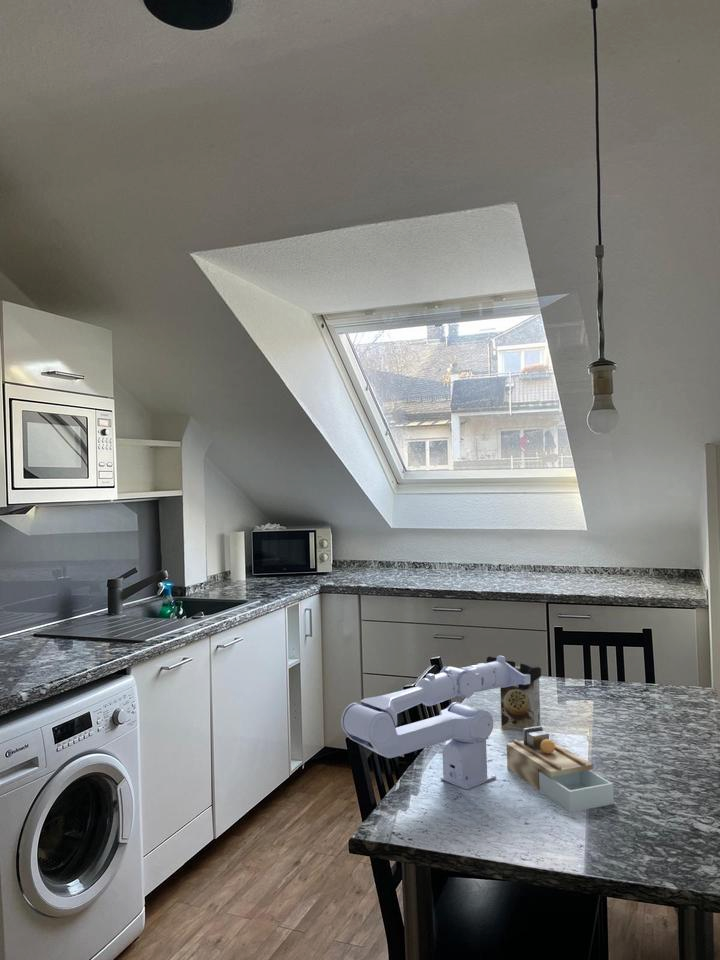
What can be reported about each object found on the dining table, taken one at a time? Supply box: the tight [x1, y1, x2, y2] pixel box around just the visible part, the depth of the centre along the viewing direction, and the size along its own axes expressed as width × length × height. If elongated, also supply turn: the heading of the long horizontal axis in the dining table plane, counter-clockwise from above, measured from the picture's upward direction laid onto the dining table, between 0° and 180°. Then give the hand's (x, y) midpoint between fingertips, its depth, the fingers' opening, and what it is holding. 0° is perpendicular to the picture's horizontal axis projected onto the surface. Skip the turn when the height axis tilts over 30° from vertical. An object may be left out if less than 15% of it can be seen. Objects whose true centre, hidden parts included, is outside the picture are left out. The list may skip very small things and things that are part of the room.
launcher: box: [506, 739, 594, 791], centre depth 161 cm, size 18×10×6 cm, turn 18°
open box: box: [539, 770, 615, 813], centre depth 151 cm, size 11×10×4 cm
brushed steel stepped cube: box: [522, 726, 550, 750], centre depth 165 cm, size 4×4×4 cm
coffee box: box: [499, 663, 541, 732], centre depth 195 cm, size 9×6×16 cm
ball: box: [541, 738, 555, 754], centre depth 161 cm, size 3×3×3 cm
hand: (526, 669), depth 175 cm, fingers open, 7 cm apart
